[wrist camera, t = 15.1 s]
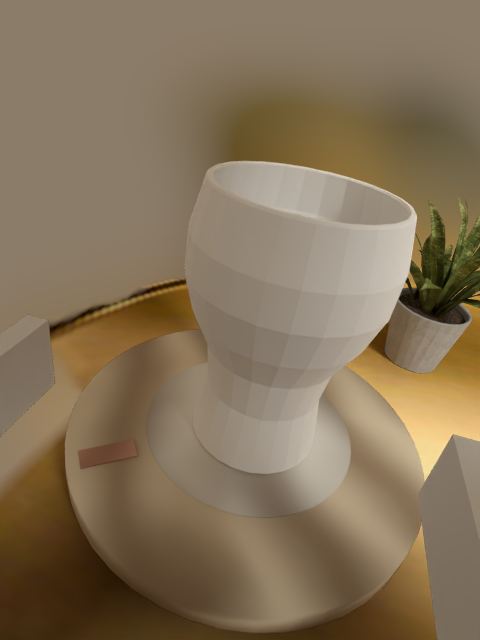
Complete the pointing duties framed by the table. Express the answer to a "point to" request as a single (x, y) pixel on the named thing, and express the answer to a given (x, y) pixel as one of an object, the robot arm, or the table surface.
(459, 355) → the table surface
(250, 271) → the cup
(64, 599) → the table surface
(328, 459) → the turntable platter
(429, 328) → the house plant
